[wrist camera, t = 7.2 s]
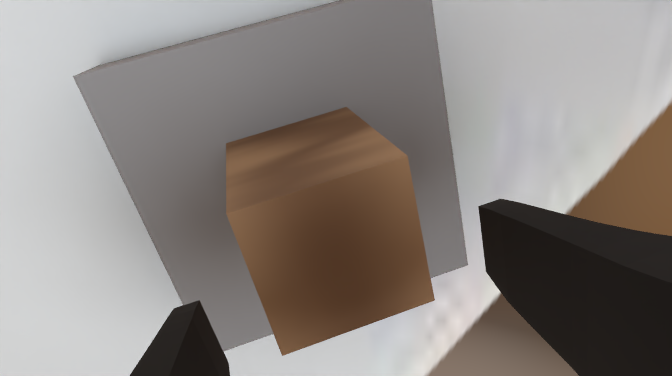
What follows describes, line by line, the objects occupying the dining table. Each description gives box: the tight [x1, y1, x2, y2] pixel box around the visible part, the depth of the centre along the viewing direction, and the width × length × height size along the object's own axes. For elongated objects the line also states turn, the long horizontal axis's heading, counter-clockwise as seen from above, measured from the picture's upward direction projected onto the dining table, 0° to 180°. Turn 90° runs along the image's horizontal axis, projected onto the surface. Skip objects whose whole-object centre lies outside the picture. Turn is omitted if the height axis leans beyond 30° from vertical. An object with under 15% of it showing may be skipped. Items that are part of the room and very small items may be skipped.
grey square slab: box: [73, 0, 468, 351], centre depth 18 cm, size 12×12×3 cm
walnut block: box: [226, 107, 435, 356], centre depth 14 cm, size 4×4×6 cm
